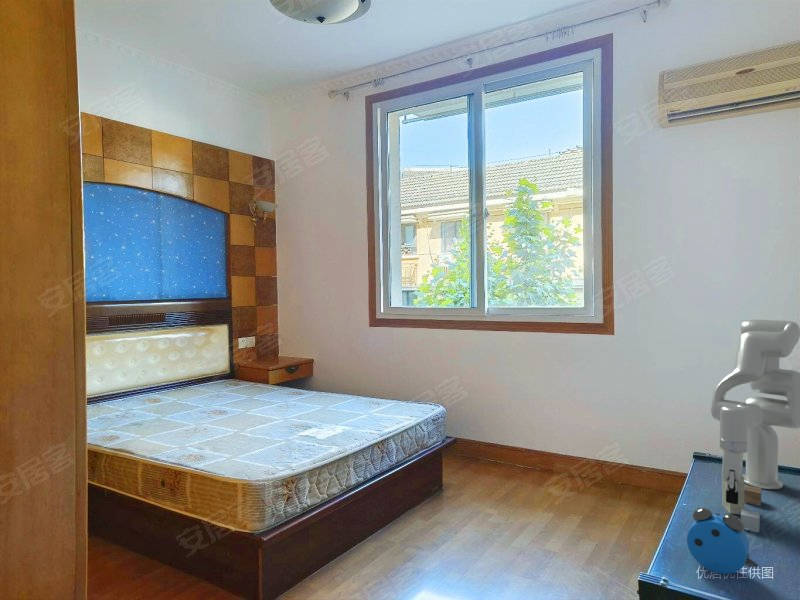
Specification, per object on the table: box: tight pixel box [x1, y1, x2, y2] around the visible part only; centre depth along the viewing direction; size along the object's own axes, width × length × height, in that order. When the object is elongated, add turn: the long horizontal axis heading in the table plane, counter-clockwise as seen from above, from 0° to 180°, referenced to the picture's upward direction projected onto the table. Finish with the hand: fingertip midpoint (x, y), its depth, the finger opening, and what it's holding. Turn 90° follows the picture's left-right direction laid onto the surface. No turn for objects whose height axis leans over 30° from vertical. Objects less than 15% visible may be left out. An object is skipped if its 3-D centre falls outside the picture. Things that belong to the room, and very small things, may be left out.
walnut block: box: [744, 484, 762, 507], centre depth 170 cm, size 4×4×4 cm
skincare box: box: [721, 474, 745, 515], centre depth 164 cm, size 6×4×12 cm
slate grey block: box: [740, 508, 761, 533], centre depth 152 cm, size 4×4×4 cm
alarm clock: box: [686, 507, 750, 575], centre depth 131 cm, size 13×6×15 cm, turn 49°
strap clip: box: [744, 552, 759, 568], centre depth 136 cm, size 8×3×4 cm, turn 179°
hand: (732, 498), depth 164 cm, fingers open, 7 cm apart
